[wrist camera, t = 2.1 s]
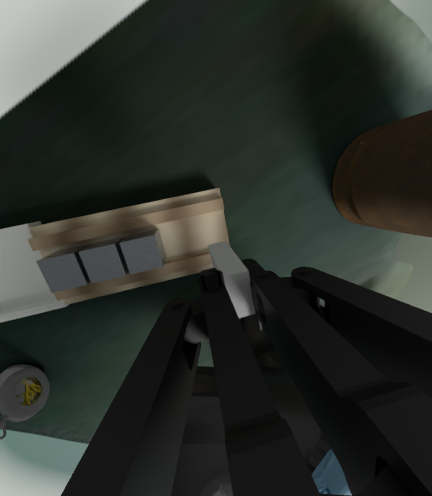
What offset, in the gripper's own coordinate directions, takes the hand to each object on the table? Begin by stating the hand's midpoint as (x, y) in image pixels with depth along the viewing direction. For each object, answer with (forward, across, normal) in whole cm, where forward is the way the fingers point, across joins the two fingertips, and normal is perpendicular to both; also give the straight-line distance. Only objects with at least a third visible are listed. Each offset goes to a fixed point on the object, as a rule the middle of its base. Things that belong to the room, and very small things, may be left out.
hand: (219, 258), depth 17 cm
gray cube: (+12, +8, 0) cm, 14 cm away
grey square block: (+12, +13, 0) cm, 17 cm away
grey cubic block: (+12, +17, 0) cm, 21 cm away
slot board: (+15, +9, 0) cm, 17 cm away
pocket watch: (+15, +33, +18) cm, 40 cm away
